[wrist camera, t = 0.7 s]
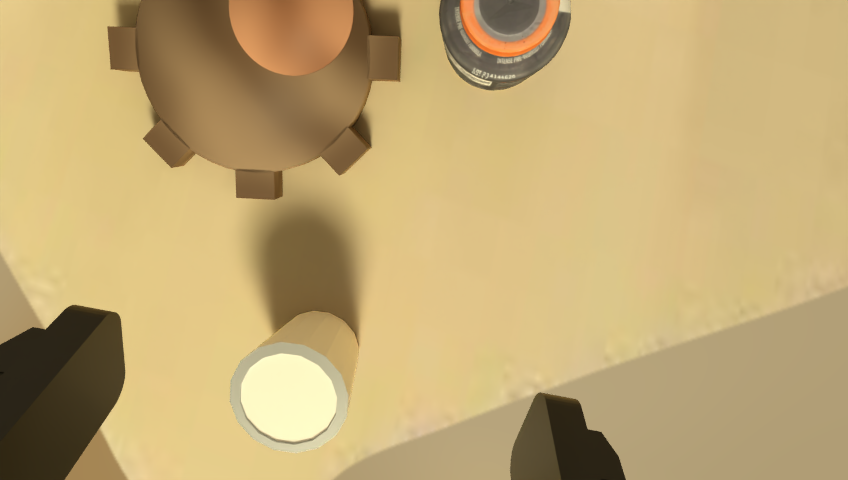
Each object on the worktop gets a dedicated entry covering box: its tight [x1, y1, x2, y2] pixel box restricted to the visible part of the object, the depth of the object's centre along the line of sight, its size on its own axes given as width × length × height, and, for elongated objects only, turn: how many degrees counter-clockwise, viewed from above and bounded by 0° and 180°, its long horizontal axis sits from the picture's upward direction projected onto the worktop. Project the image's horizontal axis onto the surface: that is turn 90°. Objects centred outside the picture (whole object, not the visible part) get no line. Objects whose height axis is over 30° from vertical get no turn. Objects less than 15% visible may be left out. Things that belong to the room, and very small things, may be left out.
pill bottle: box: [439, 0, 571, 90], centre depth 28 cm, size 6×6×11 cm
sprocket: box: [108, 0, 401, 200], centre depth 33 cm, size 17×17×2 cm
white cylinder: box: [230, 311, 359, 453], centre depth 35 cm, size 7×7×7 cm
